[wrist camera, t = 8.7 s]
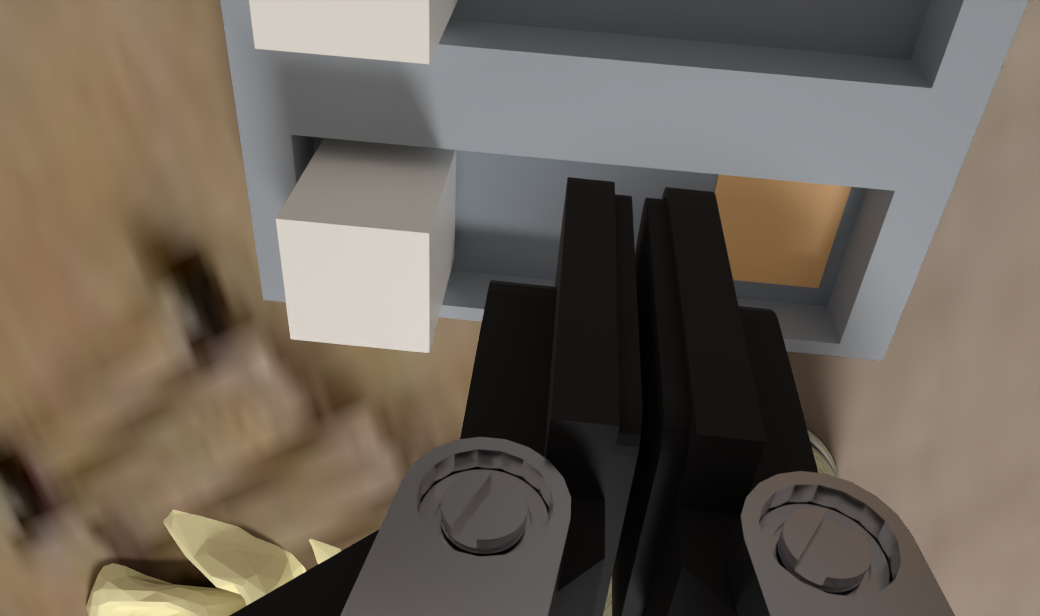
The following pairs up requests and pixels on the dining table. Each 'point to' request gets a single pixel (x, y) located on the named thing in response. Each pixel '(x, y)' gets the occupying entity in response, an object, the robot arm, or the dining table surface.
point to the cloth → (218, 555)
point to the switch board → (662, 135)
